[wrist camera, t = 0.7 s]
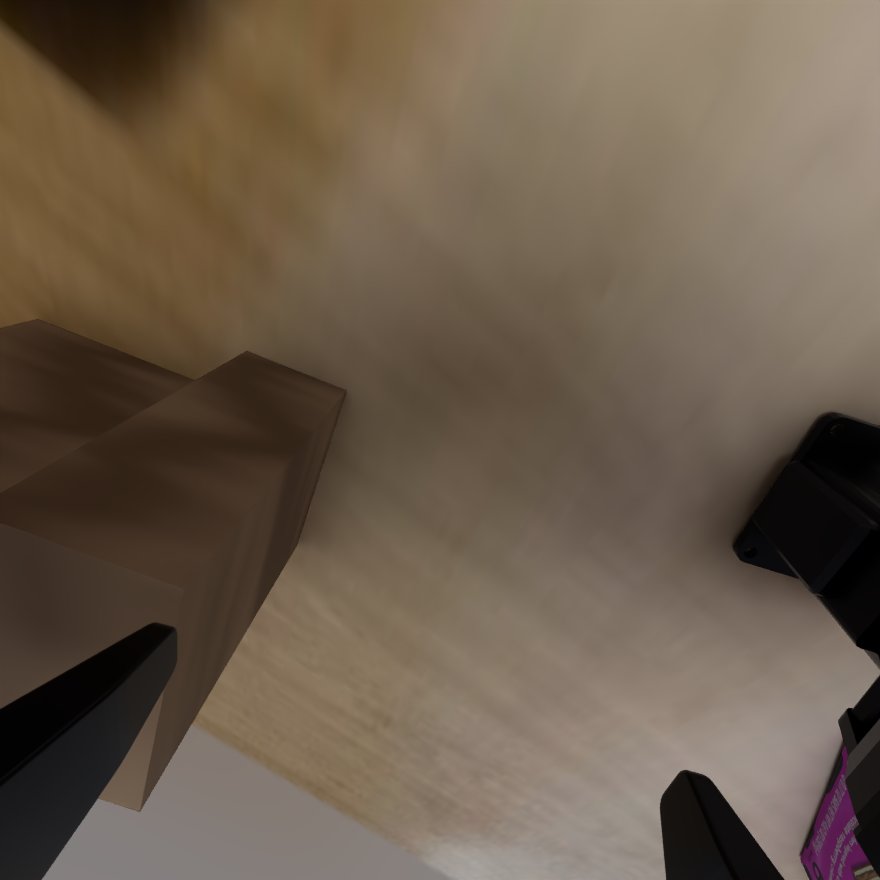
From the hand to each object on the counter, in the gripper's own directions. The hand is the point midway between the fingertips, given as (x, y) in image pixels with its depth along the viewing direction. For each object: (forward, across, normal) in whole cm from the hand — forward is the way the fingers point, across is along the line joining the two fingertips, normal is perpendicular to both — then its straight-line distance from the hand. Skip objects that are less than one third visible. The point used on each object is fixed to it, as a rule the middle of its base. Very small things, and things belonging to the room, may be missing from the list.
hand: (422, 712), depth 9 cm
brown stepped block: (+12, +12, +3) cm, 17 cm away
